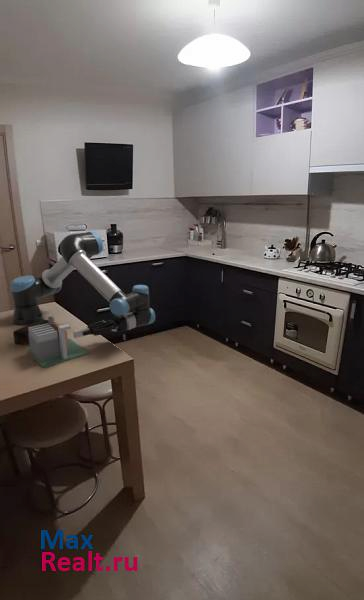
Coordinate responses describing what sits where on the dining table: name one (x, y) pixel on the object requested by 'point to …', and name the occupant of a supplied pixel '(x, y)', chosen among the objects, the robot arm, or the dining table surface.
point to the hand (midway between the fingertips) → (74, 334)
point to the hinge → (55, 326)
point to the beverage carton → (26, 332)
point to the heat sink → (52, 345)
